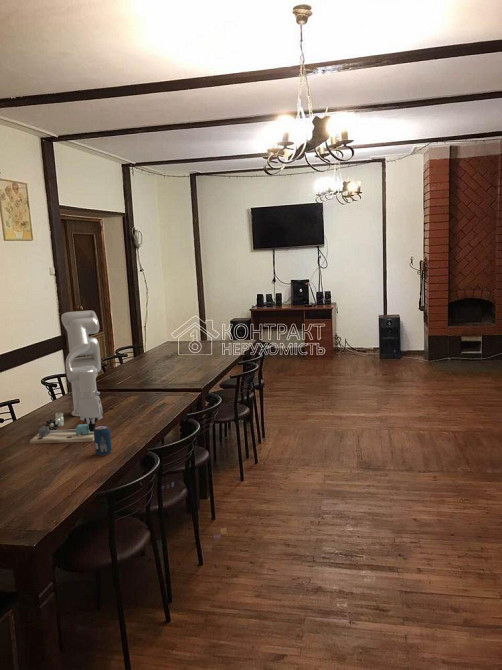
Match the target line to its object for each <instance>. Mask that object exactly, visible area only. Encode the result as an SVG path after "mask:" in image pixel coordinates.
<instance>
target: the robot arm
mask: <svg viewBox="0 0 502 670" xmlns="http://www.w3.org/2000/svg"><path fill="white" fill-rule="evenodd" d="M61 323H62V325H63V327H64V329H65V330H66V333H67V341H68V351H69V353H68V354H67V356H66V359H65V370H66V371H65V372H66V378H67V381H68V382H69V383H71V393H72V401H73V410H72V412H71V415H72V416H73V417H80V418H79V420H81V421H83V422H84V421H85V423H86V424H88V426H89V430H90V432H94V430H95V427H97V425H96V422H98V421H99V420H102V419H103V418H104V417H103V406H102V400H101V399H100V394H101V392H100V391H98V389H97V380H96V378H97V377H98V373H100V371H101V369H102V360H101V349H100V342H99V341H98V339H97V338H96V337H89V335H95V334H98V333H99V331H100V322H99V318H98V316H97V314H96V312H95V311H94V310H78V311H77V310H76V311H67V312H64V313H63V314H61Z"/></svg>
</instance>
